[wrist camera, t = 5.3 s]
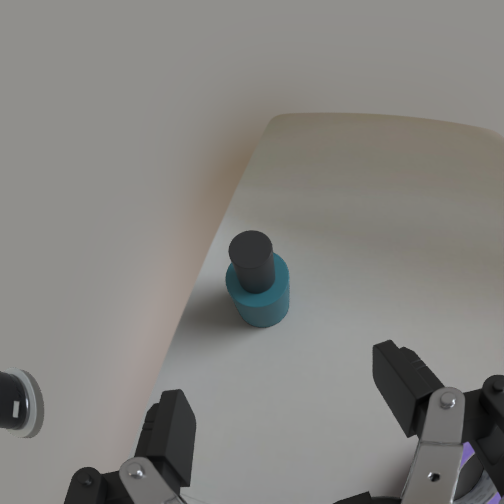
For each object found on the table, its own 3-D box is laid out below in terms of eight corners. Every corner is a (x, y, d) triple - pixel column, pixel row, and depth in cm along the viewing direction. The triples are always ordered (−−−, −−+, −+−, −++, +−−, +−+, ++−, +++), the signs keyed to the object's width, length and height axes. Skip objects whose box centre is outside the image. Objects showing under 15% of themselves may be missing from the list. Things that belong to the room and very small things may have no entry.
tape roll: (423, 532, 16) (440, 546, 11) (406, 459, 21) (425, 467, 17) (500, 479, 16) (523, 483, 12) (487, 407, 22) (512, 404, 17)
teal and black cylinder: (243, 332, 31) (218, 292, 20) (233, 285, 33) (208, 226, 23) (294, 320, 31) (298, 274, 20) (282, 274, 33) (278, 210, 23)
